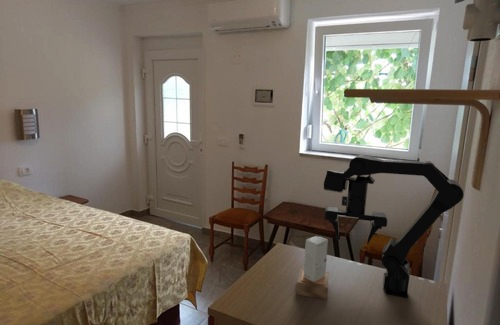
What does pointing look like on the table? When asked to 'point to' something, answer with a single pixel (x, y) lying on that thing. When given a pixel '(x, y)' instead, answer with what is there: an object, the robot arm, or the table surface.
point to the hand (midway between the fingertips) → (352, 241)
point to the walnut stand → (312, 286)
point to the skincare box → (315, 258)
